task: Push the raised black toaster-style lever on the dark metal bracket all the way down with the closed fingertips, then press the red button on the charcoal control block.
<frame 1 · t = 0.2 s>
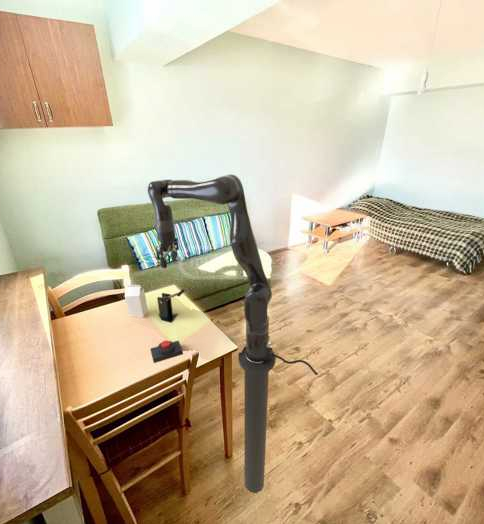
hand: (169, 264, 124), 32 cm above the table, tool pointing down, fingers open, 8 cm apart
lever: (171, 296, 134), point 13 cm above the table, hinge at 28.0°
control block: (166, 353, 117), on the table
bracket: (166, 317, 141), on the table
milk carton: (139, 316, 142), on the table
button: (165, 344, 115), point 4 cm above the table, slide at 0.1 cm
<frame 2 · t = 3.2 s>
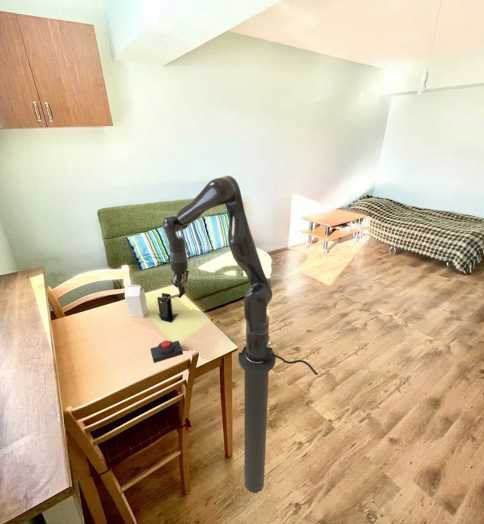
hand: (182, 293, 132), 16 cm above the table, tool pointing down, fingers closed
lever: (172, 296, 134), point 13 cm above the table, hinge at 23.4°, touching gripper
everything else where it was.
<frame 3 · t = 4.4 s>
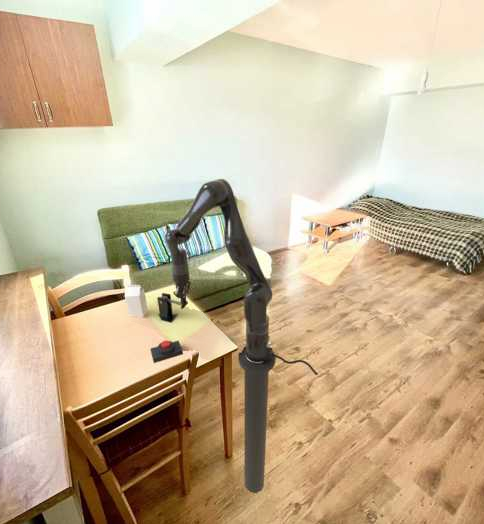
hand: (183, 303, 134), 10 cm above the table, tool pointing down, fingers closed
lever: (173, 301, 135), point 10 cm above the table, hinge at -7.4°, touching gripper
everything else where it was.
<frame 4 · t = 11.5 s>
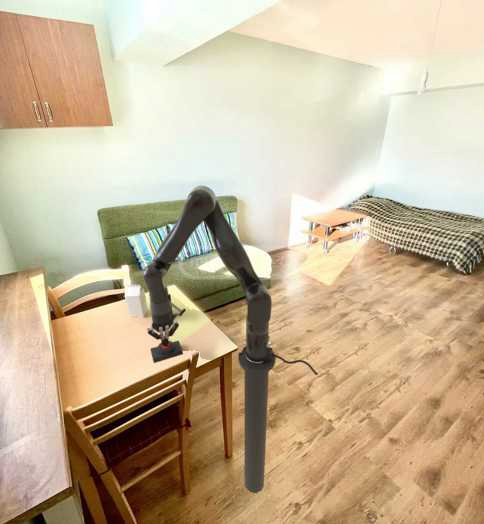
hand: (165, 344, 115), 4 cm above the table, tool pointing down, fingers closed
lever: (172, 305, 136), point 8 cm above the table, hinge at -32.4°
button: (166, 346, 115), point 4 cm above the table, slide at -0.8 cm, touching gripper
everything else where it was.
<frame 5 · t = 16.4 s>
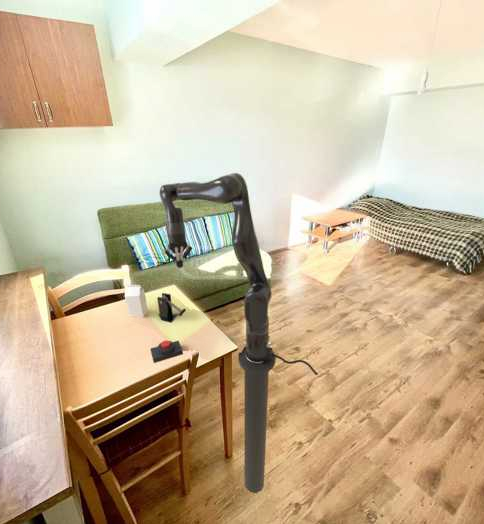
hand: (180, 267, 127), 29 cm above the table, tool pointing down, fingers closed
button: (165, 344, 115), point 4 cm above the table, slide at 0.1 cm
everything else where it was.
at the end: lever at -32° (first picture: +28°); button pushed in 1.1 cm at the most during the clip, back to where it started at the end; button slide at 0.1 cm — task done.
